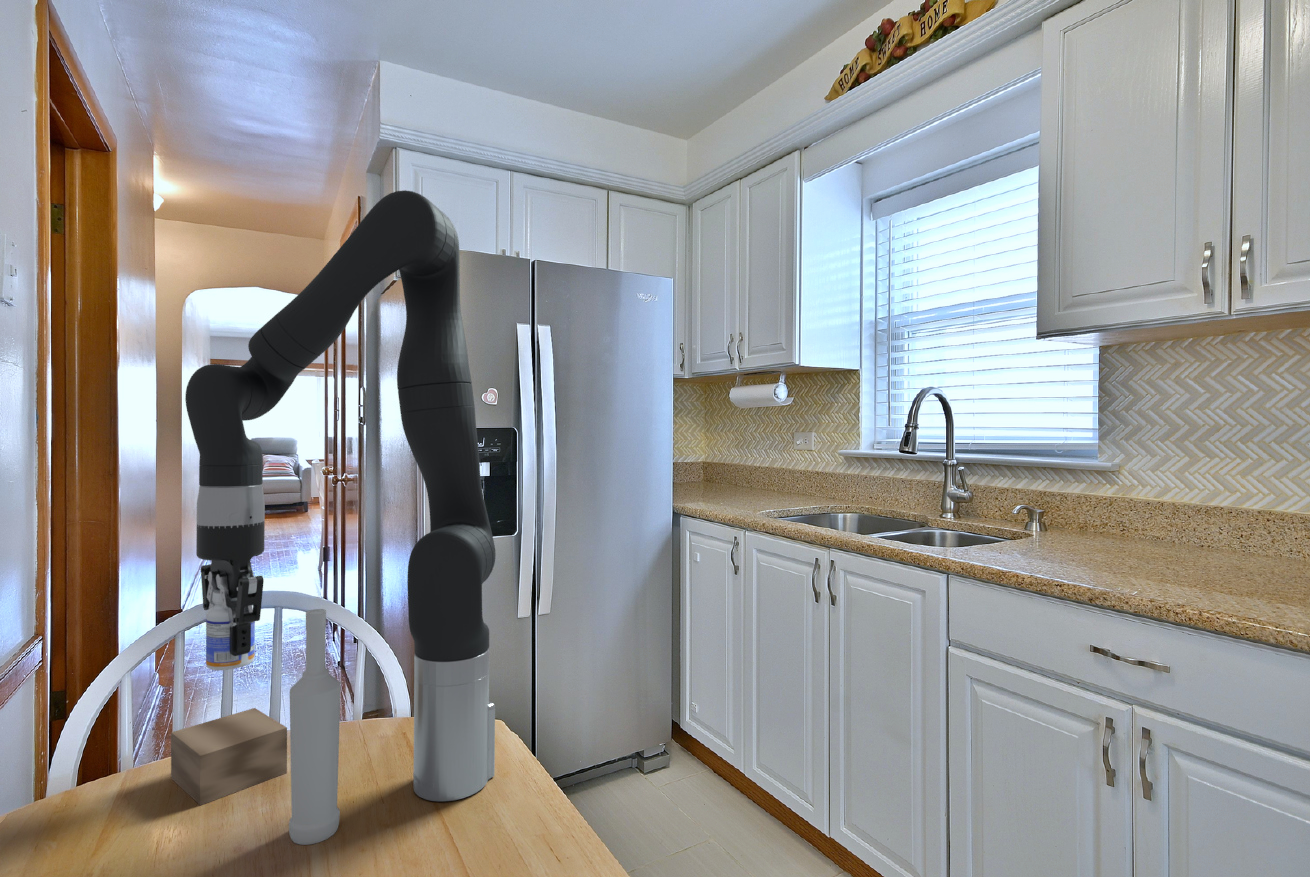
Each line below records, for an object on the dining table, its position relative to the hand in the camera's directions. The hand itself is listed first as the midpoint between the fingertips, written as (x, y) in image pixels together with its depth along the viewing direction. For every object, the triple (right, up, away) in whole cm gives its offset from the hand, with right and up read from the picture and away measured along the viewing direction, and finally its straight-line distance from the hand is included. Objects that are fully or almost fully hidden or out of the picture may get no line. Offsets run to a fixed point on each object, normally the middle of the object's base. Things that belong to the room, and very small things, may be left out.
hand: (230, 648), depth 88 cm
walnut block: (0, -17, 0) cm, 17 cm away
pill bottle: (0, -2, 0) cm, 2 cm away
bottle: (+17, -17, -12) cm, 27 cm away
